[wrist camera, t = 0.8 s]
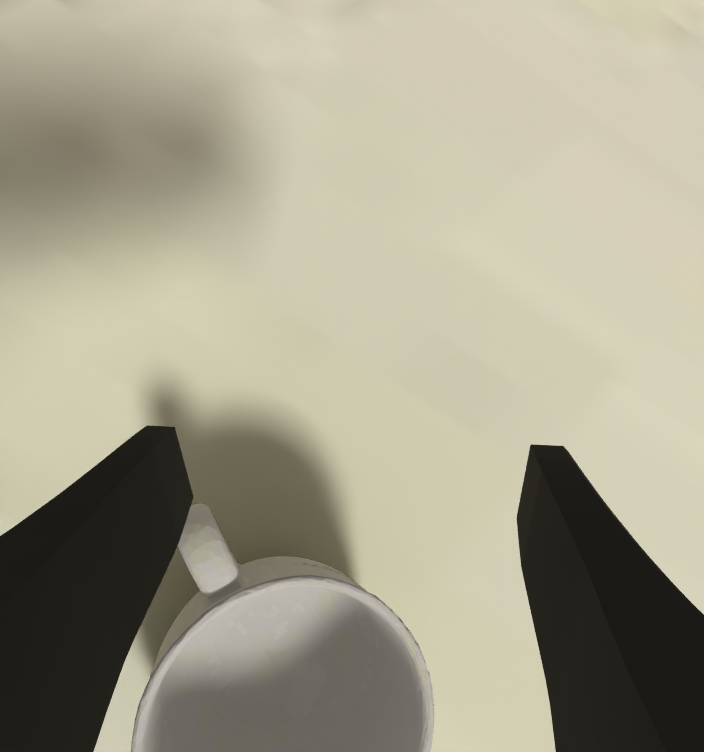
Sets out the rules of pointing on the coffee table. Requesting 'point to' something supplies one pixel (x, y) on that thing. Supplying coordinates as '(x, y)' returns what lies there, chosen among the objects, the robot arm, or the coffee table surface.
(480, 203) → the coffee table surface
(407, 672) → the teacup
